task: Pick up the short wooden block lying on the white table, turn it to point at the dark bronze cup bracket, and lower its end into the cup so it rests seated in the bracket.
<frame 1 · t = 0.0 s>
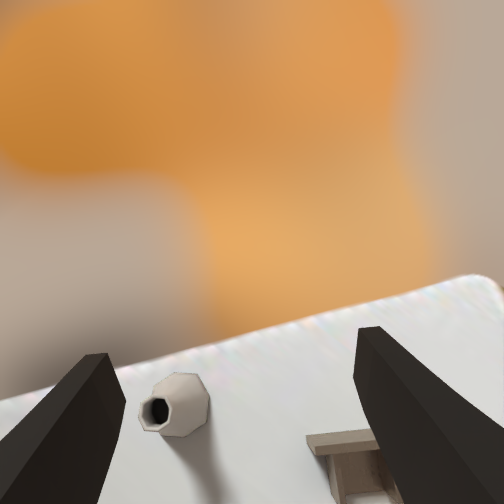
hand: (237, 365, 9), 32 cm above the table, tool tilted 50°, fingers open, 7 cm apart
bracket: (354, 464, 36), on the table
flask: (180, 403, 39), on the table
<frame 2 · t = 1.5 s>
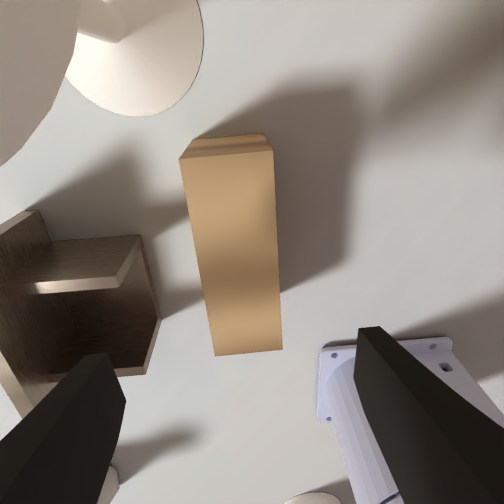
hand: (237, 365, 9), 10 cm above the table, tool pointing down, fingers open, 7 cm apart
bracket: (110, 284, 19), on the table
flask: (80, 471, 29), on the table
champagne flute: (125, 32, 14), on the table
wooden block: (237, 227, 18), on the table
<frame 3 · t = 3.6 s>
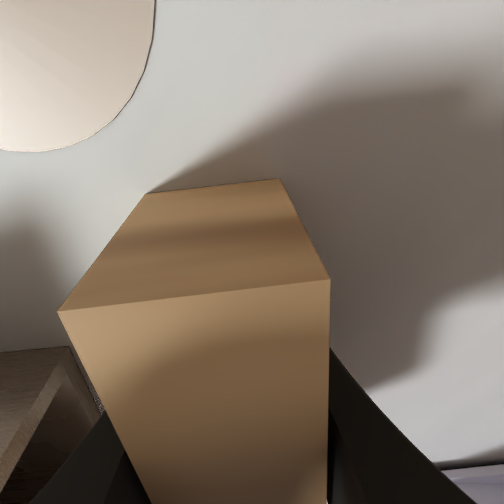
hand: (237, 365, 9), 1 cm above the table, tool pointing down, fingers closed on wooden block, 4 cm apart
bracket: (29, 414, 12), on the table
wooden block: (236, 332, 11), on the table, touching gripper
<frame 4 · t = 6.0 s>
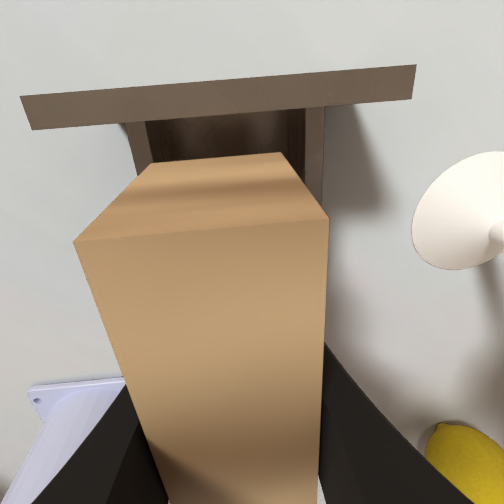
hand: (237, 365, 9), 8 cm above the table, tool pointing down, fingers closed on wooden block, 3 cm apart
bracket: (232, 161, 15), on the table
lemon: (438, 422, 26), on the table
champagne flute: (471, 214, 17), on the table
wooden block: (234, 306, 11), point 6 cm above the table, touching gripper
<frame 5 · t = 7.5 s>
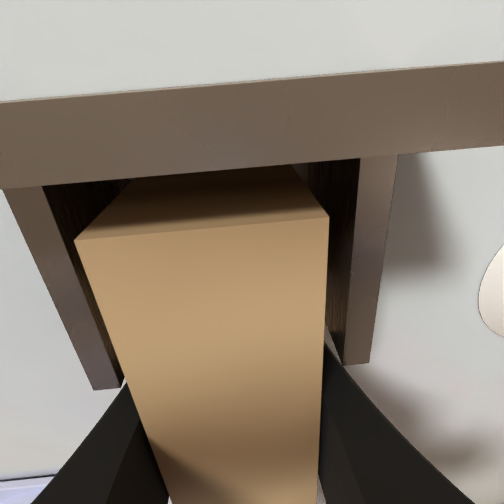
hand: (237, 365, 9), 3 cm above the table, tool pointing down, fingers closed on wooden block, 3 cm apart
bracket: (223, 204, 10), on the table
wooden block: (234, 305, 11), point 1 cm above the table, touching bracket, gripper
when the fingers open (3 cm above the table, at t = 8.4 s): wooden block stays where it is, resting on bracket.
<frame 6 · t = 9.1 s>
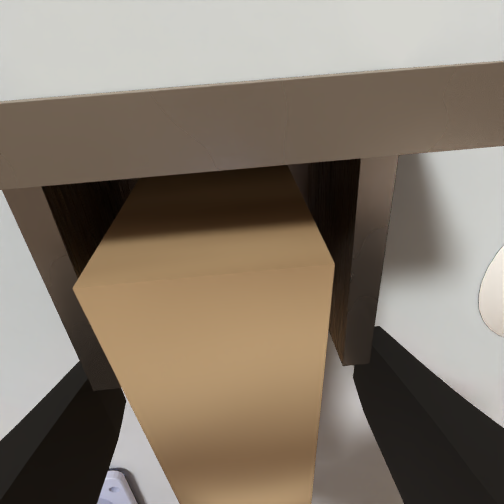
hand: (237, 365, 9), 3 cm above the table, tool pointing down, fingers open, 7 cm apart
bracket: (223, 204, 10), on the table
wooden block: (233, 303, 11), point 1 cm above the table, tilted 6°, touching bracket
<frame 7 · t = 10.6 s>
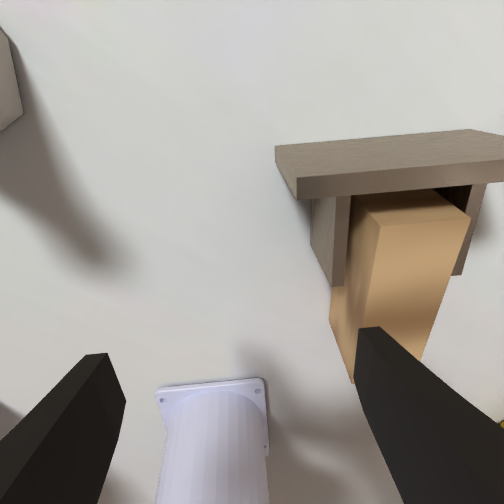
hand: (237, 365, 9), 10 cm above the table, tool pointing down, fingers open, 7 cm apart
bracket: (366, 199, 18), on the table
wooden block: (363, 257, 19), point 1 cm above the table, tilted 6°, touching bracket
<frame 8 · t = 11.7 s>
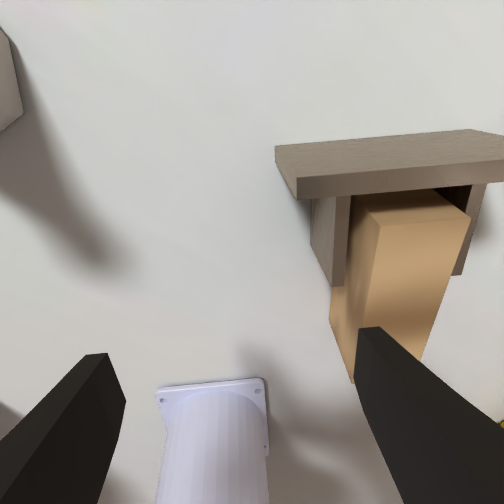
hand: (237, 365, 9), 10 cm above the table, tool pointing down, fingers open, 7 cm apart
bracket: (366, 199, 18), on the table
wooden block: (363, 257, 19), point 1 cm above the table, tilted 6°, touching bracket
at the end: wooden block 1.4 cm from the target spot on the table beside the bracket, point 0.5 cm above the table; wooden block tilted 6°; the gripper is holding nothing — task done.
